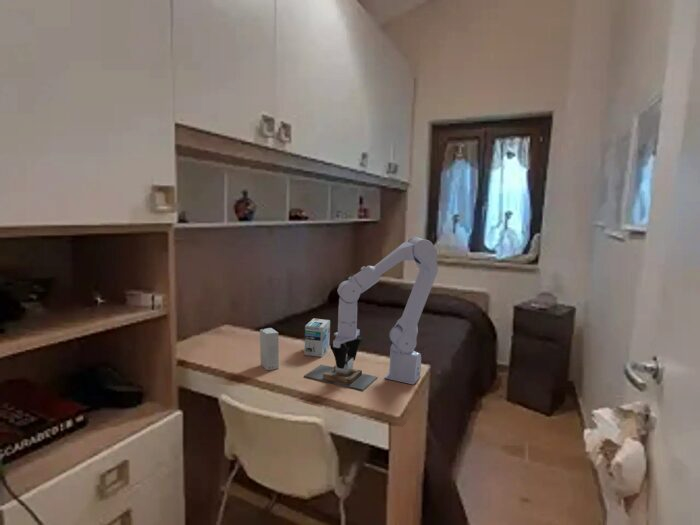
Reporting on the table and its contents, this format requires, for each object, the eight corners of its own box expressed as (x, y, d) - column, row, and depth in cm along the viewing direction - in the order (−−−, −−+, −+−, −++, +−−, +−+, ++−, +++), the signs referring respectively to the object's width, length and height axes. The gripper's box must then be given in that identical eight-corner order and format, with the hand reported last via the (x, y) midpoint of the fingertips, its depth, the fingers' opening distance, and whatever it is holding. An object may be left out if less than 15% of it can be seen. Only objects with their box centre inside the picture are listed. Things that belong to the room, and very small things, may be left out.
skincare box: (279, 368, 145) (280, 332, 143) (266, 371, 143) (266, 334, 141) (271, 362, 150) (272, 327, 149) (259, 364, 148) (259, 328, 146)
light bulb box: (322, 357, 157) (323, 327, 156) (303, 355, 158) (304, 325, 157) (329, 347, 167) (330, 319, 166) (312, 346, 169) (313, 317, 167)
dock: (377, 378, 141) (377, 372, 141) (363, 391, 131) (363, 384, 131) (321, 365, 149) (321, 360, 149) (303, 377, 139) (303, 371, 139)
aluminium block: (352, 376, 141) (353, 357, 140) (346, 380, 137) (347, 361, 136) (340, 373, 142) (341, 355, 141) (335, 377, 139) (335, 359, 138)
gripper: (346, 313, 145) (344, 354, 147) (324, 324, 132) (323, 369, 134) (366, 316, 142) (364, 358, 144) (346, 328, 129) (344, 373, 131)
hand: (346, 363), depth 139 cm, fingers open, 7 cm apart
